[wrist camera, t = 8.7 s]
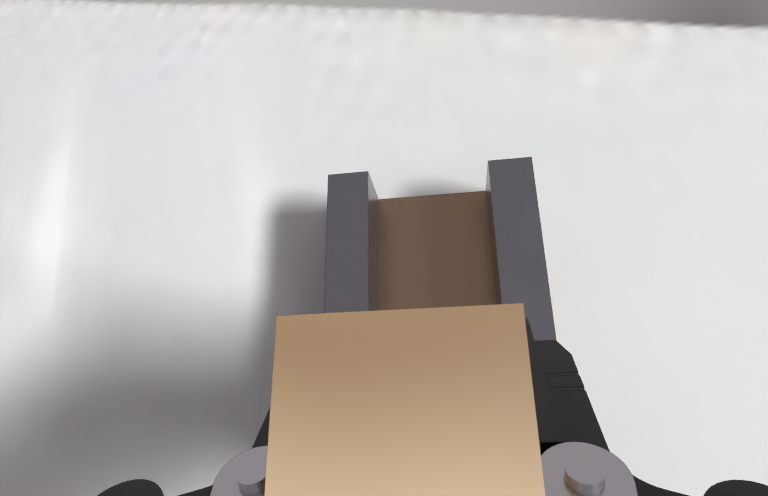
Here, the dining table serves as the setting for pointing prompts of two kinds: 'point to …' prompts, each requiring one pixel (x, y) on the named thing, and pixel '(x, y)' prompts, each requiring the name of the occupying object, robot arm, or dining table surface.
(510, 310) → the light brown wooden block
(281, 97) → the dining table surface
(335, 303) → the door track
